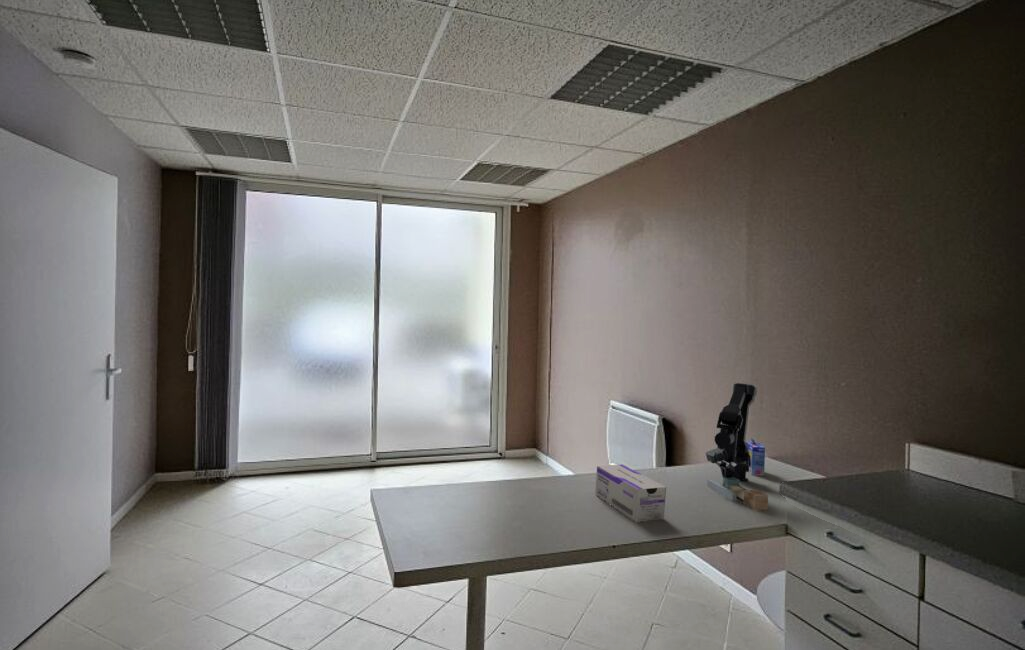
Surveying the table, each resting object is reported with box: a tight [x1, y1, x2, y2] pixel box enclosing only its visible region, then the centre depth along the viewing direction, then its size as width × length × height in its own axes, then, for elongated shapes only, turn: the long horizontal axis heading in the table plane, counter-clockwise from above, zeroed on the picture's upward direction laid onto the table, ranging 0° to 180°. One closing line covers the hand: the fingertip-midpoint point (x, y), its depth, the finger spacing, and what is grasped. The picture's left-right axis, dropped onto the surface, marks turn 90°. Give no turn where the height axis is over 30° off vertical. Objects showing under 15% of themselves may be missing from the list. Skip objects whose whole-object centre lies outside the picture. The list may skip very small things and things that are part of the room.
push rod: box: [722, 477, 744, 501], centre depth 197 cm, size 12×5×4 cm, turn 13°
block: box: [743, 488, 769, 511], centre depth 188 cm, size 6×5×5 cm
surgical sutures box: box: [595, 463, 667, 523], centre depth 181 cm, size 25×11×11 cm, turn 22°
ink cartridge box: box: [745, 437, 766, 477], centre depth 231 cm, size 10×6×14 cm, turn 174°
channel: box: [706, 479, 751, 502], centre depth 202 cm, size 16×10×2 cm, turn 13°
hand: (725, 483), depth 205 cm, fingers closed
